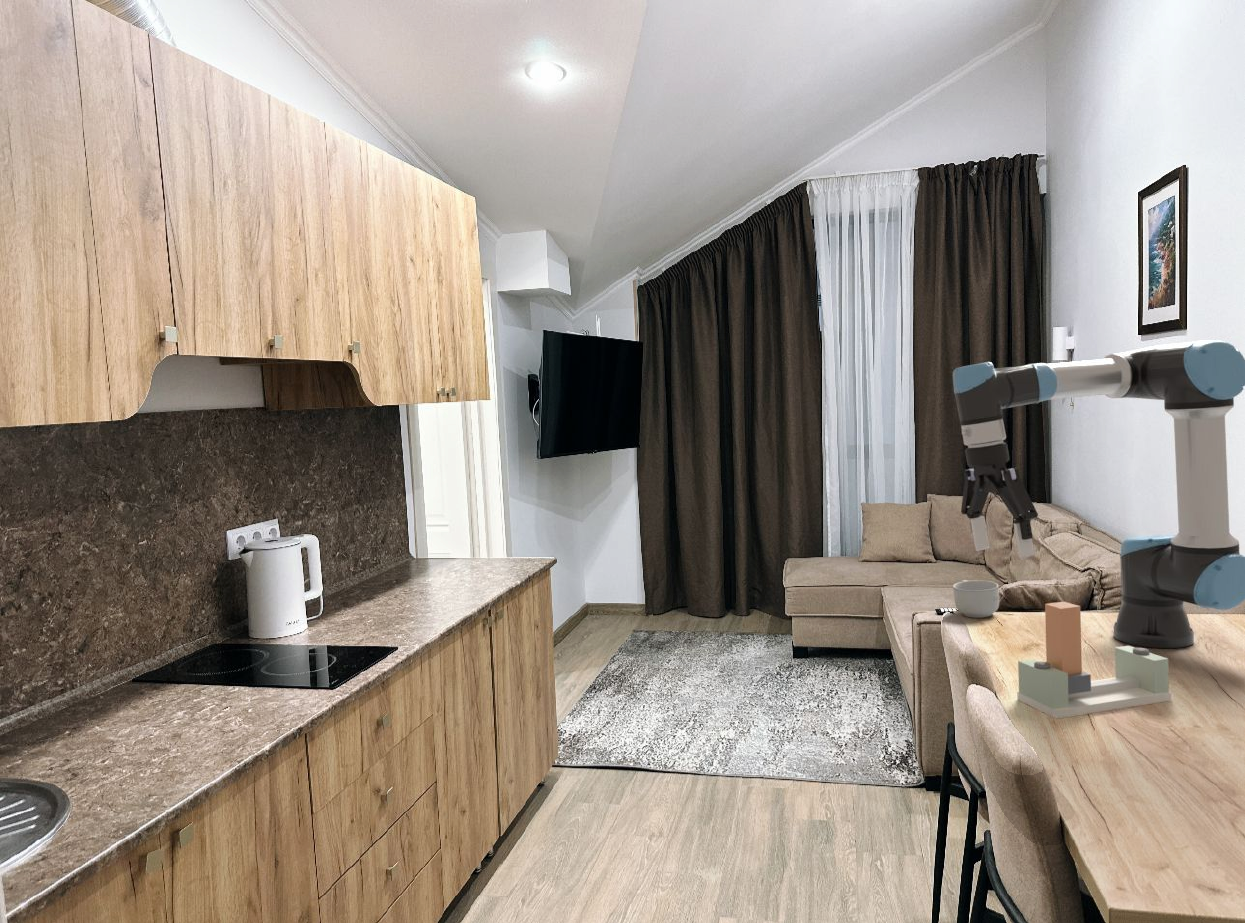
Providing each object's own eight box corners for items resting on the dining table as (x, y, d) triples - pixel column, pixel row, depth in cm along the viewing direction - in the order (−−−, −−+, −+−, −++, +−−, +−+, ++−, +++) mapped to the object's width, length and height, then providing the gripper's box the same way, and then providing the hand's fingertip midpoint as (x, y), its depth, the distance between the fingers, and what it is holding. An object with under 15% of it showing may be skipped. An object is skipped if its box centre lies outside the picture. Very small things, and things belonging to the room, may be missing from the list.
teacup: (1004, 620, 211) (1003, 588, 210) (958, 620, 213) (956, 589, 212) (991, 606, 224) (990, 576, 224) (948, 607, 227) (947, 577, 226)
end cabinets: (1129, 676, 162) (1128, 642, 162) (1168, 691, 153) (1168, 655, 153) (1019, 692, 157) (1018, 657, 156) (1053, 709, 148) (1052, 672, 148)
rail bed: (1127, 683, 163) (1126, 668, 162) (1171, 700, 153) (1171, 684, 153) (1017, 699, 158) (1017, 684, 157) (1056, 718, 148) (1055, 701, 148)
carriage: (1062, 679, 158) (1060, 599, 157) (1090, 691, 151) (1089, 607, 150) (1039, 682, 157) (1036, 602, 156) (1066, 694, 150) (1064, 611, 149)
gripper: (932, 449, 174) (950, 550, 175) (1008, 445, 150) (1029, 563, 150) (965, 442, 175) (982, 543, 176) (1046, 438, 151) (1066, 555, 151)
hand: (1004, 553), depth 163 cm, fingers open, 13 cm apart
